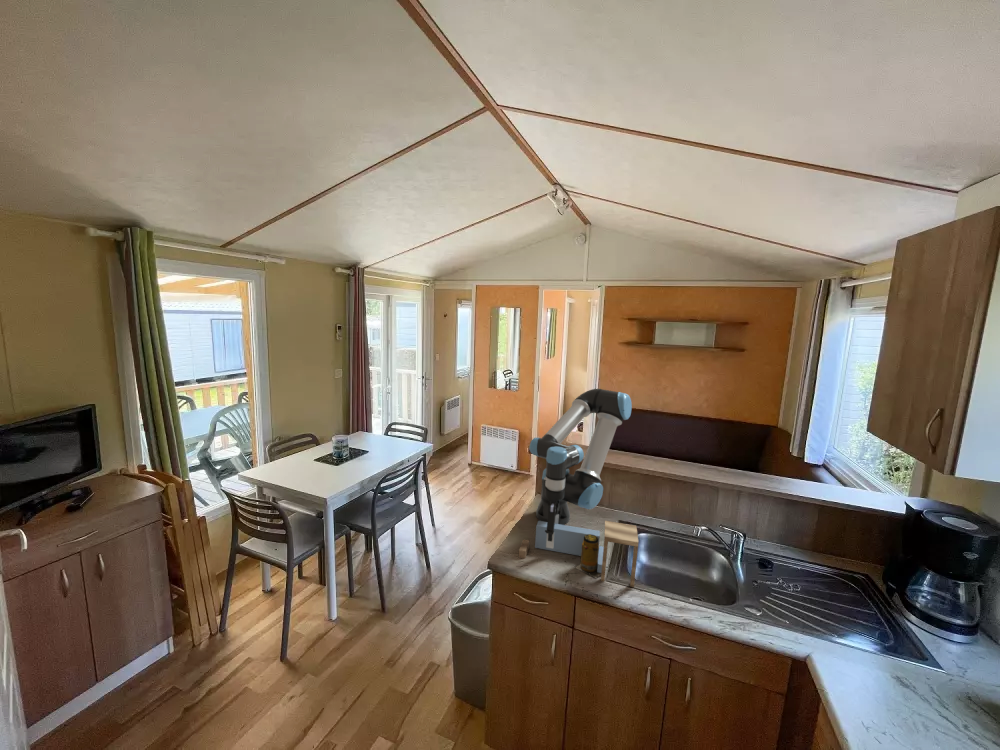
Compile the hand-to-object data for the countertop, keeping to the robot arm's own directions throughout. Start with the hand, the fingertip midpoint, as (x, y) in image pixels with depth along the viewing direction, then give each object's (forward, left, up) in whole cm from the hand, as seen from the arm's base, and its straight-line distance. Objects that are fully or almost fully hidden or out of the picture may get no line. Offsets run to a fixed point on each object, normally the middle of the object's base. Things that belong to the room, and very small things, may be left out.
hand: (552, 538), depth 162 cm
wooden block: (+7, -10, -4) cm, 13 cm away
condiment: (+10, +16, -4) cm, 19 cm away
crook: (+5, +7, -3) cm, 9 cm away
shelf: (+10, +25, -4) cm, 27 cm away
